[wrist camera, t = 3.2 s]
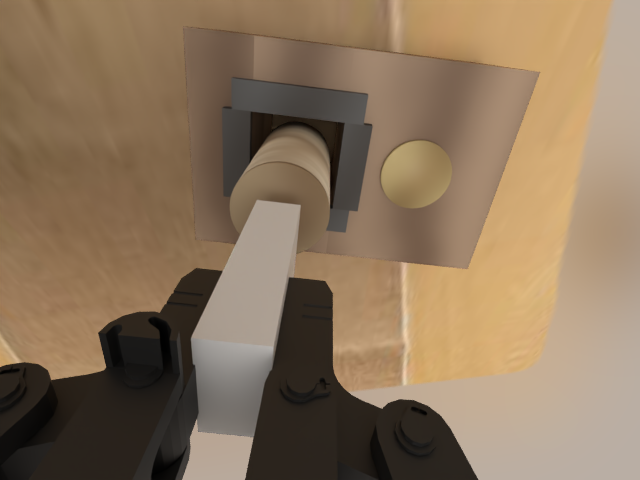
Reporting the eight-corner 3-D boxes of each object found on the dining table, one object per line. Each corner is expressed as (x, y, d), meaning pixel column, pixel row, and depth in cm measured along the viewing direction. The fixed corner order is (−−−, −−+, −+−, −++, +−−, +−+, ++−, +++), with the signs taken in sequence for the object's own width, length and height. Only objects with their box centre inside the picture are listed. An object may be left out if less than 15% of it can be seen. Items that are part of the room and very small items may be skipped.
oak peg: (261, 184, 22) (229, 250, 15) (263, 117, 20) (229, 157, 13) (325, 192, 23) (323, 260, 16) (334, 126, 21) (336, 170, 14)
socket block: (226, 194, 31) (192, 243, 23) (224, 30, 25) (178, 26, 17) (436, 217, 31) (470, 274, 24) (482, 63, 25) (546, 73, 18)
